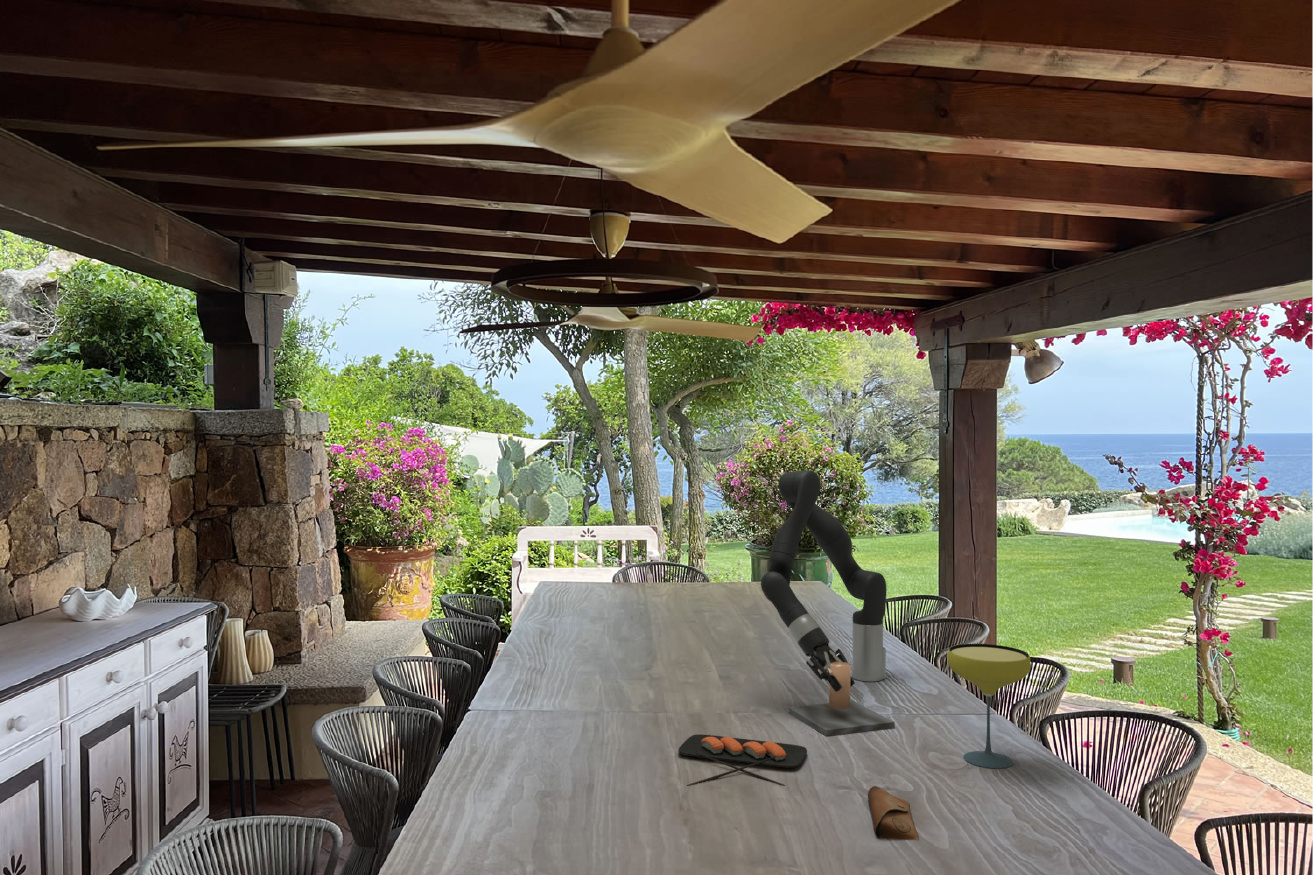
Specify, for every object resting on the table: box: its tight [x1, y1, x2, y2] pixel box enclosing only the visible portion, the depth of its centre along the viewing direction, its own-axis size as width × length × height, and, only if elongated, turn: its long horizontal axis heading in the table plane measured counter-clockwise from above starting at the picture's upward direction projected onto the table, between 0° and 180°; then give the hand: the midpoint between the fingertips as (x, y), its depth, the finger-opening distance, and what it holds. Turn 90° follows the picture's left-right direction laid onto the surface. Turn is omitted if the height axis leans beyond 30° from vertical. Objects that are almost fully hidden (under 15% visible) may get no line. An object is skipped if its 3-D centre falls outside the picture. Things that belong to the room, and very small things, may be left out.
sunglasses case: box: [867, 785, 920, 841], centre depth 175 cm, size 18×7×7 cm, turn 172°
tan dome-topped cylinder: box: [828, 662, 852, 709], centre depth 237 cm, size 6×6×11 cm
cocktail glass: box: [946, 643, 1032, 770], centre depth 207 cm, size 18×18×25 cm
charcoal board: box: [788, 700, 896, 737], centre depth 237 cm, size 20×20×2 cm
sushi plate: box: [677, 733, 808, 787], centre depth 203 cm, size 29×30×4 cm
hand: (845, 687), depth 235 cm, fingers closed on tan dome-topped cylinder, 5 cm apart
